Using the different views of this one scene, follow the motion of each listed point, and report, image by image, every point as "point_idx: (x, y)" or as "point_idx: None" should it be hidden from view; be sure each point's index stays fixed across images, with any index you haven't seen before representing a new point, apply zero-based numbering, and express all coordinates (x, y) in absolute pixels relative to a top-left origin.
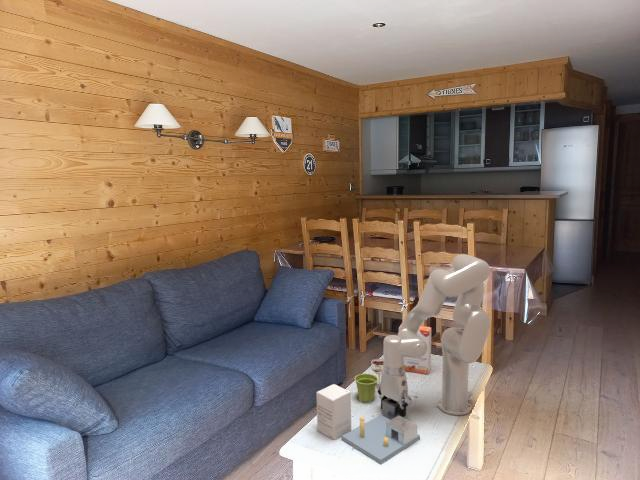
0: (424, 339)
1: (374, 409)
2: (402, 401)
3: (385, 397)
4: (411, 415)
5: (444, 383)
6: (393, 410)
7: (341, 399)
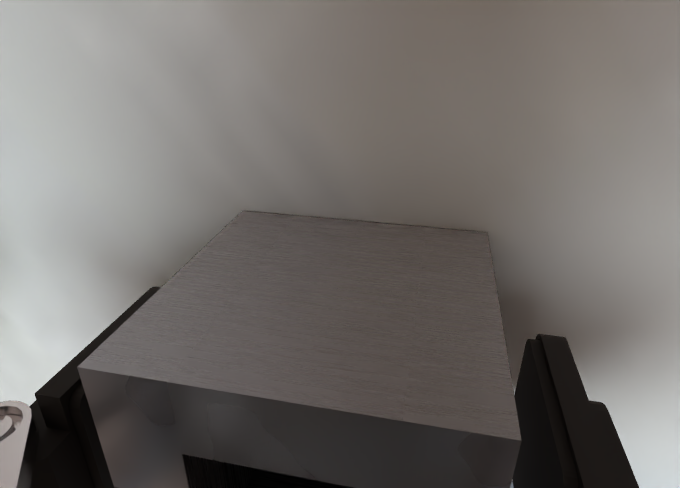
0: None
1: None
2: (472, 486)
3: (65, 457)
4: (574, 145)
5: None
6: None
7: None
